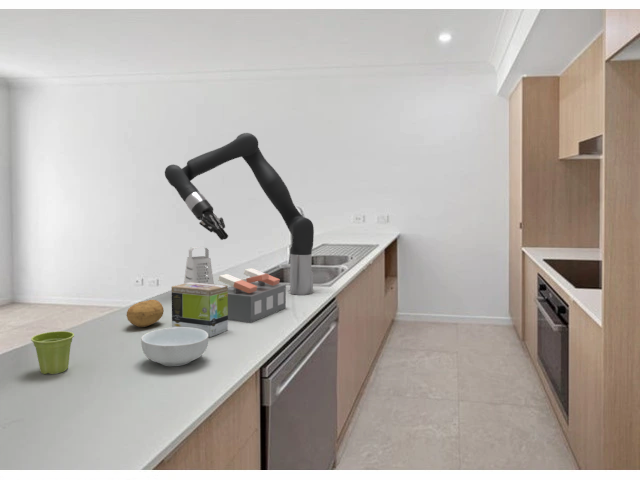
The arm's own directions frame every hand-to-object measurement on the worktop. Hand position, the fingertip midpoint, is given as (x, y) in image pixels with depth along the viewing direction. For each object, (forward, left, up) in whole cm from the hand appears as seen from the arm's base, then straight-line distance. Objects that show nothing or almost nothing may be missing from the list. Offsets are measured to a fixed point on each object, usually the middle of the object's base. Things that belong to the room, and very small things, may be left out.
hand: (225, 238), depth 207 cm
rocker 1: (+4, +23, -14) cm, 27 cm away
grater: (+3, -23, -26) cm, 35 cm away
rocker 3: (-9, +14, -14) cm, 22 cm away
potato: (+35, +20, -26) cm, 48 cm away
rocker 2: (-3, +18, -14) cm, 23 cm away
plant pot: (+64, +53, -26) cm, 87 cm away
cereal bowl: (+36, +60, -26) cm, 75 cm away
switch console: (-5, +17, -26) cm, 31 cm away
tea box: (+21, +34, -26) cm, 48 cm away
